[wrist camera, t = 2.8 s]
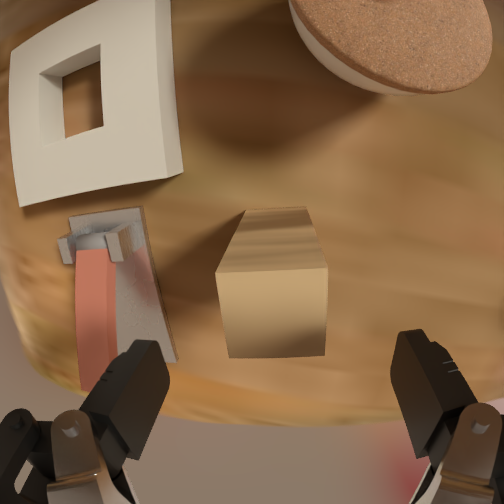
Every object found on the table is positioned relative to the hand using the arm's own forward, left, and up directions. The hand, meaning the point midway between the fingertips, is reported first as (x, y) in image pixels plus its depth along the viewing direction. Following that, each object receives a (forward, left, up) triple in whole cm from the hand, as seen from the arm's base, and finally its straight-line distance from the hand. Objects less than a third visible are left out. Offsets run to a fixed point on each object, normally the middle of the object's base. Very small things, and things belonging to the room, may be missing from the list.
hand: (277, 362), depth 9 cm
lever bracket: (+4, -13, -12) cm, 18 cm away
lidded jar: (-14, +7, -12) cm, 20 cm away
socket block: (-12, -13, -12) cm, 22 cm away
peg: (0, 0, -12) cm, 12 cm away
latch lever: (+4, -13, -8) cm, 16 cm away
